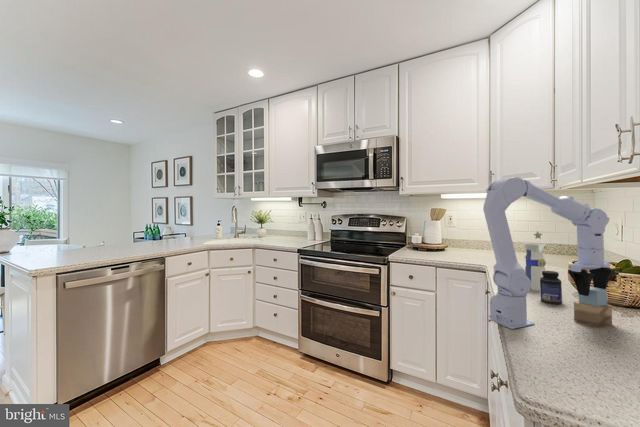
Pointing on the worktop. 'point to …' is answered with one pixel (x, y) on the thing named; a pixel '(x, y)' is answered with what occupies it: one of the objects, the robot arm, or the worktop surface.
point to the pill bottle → (551, 287)
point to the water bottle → (535, 262)
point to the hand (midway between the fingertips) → (591, 293)
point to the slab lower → (593, 320)
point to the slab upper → (593, 310)
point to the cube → (595, 297)
